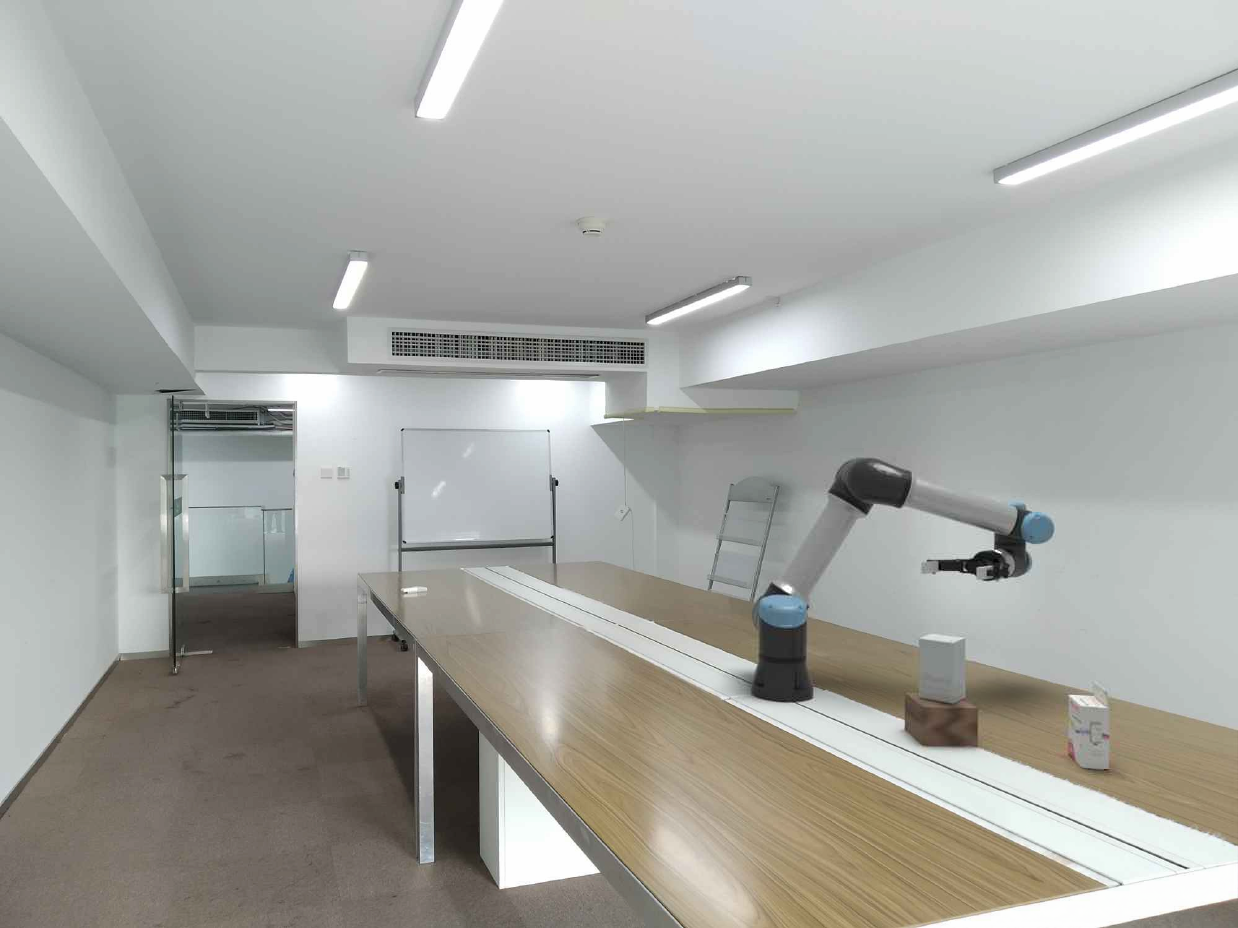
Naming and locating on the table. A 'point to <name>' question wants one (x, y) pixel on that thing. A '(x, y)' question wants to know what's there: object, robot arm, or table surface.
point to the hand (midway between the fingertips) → (949, 570)
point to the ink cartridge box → (1089, 729)
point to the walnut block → (941, 721)
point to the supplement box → (942, 668)
